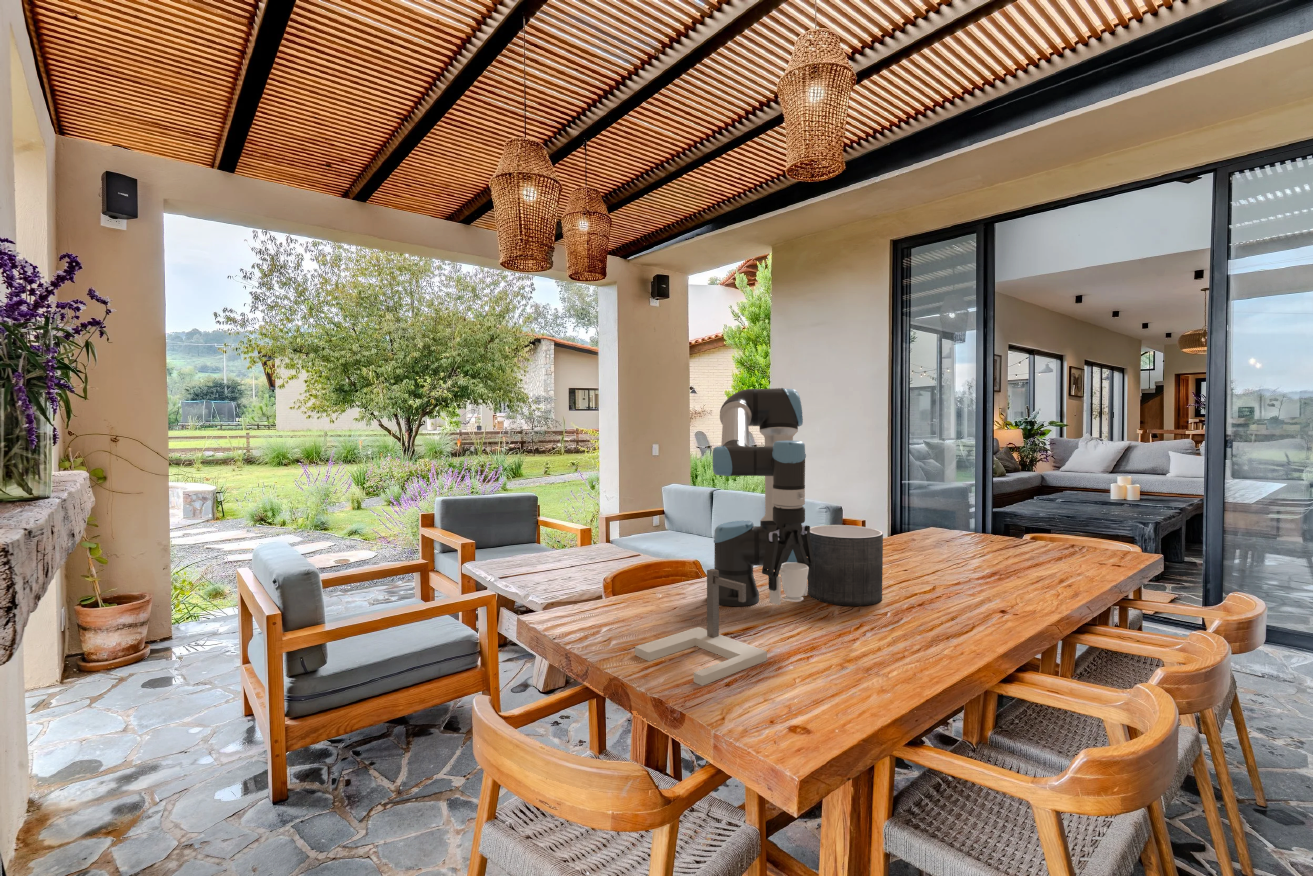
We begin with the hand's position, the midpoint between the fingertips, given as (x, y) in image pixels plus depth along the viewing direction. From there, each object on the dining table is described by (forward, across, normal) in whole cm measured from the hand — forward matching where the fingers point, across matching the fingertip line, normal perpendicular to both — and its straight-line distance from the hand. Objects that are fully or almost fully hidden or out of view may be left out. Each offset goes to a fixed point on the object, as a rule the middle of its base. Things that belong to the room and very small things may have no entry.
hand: (788, 598), depth 147 cm
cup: (0, 0, 0) cm, 1 cm away
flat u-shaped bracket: (+11, -22, +8) cm, 26 cm away
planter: (+13, +46, +14) cm, 50 cm away
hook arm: (+9, -13, +8) cm, 18 cm away
